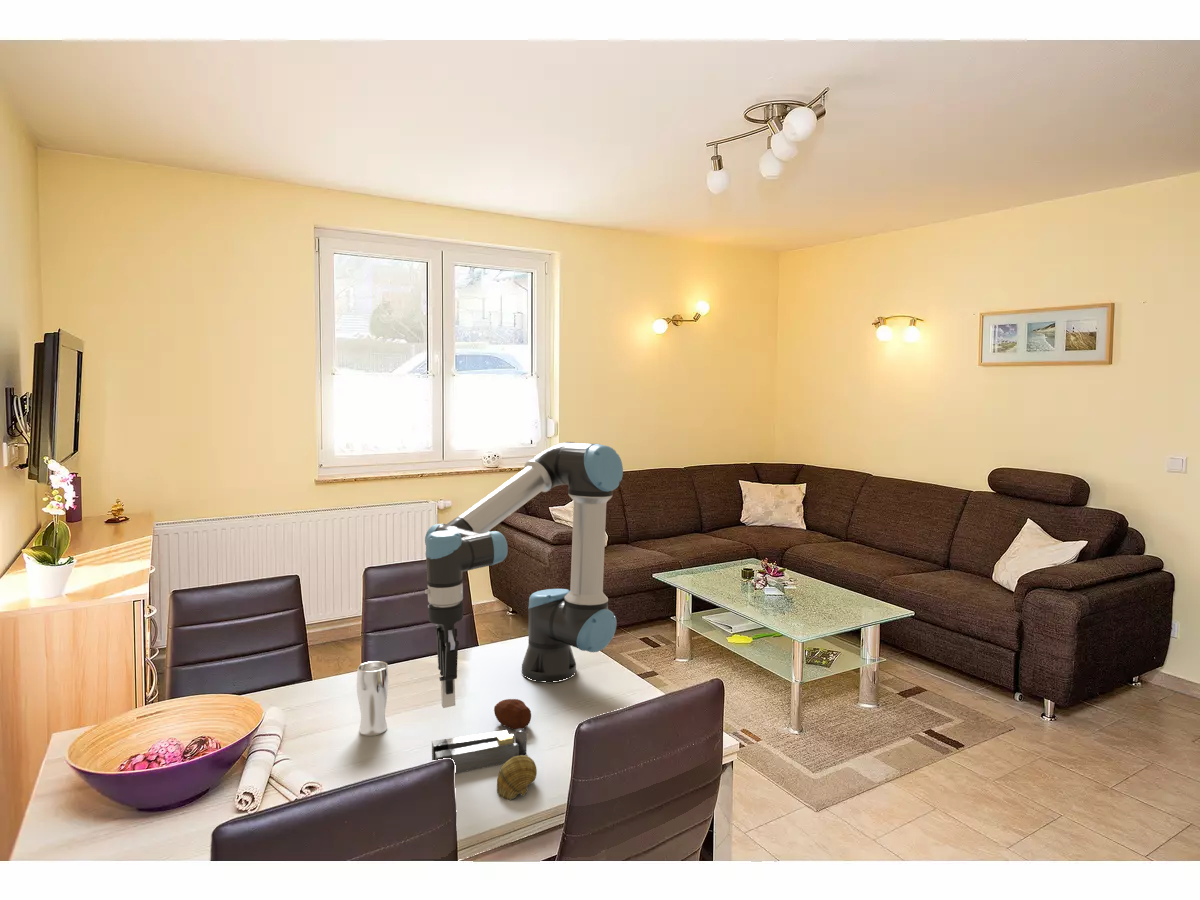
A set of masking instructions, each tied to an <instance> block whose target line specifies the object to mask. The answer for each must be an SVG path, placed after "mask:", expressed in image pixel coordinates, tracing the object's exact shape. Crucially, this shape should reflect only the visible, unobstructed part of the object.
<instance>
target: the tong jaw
mask: <svg viewBox="0 0 1200 900" xmlns="http://www.w3.org/2000/svg"><path fill="white" fill-rule="evenodd" d="M506 735H512V737H513V743H515V735H514V733H510V734H509V732H508V730H507V729H505V730H497V731H491V732H485V733H478V734H471V735H470V734H469V735H466V736H465V735H464V736H459V737H457V736H456V737H449V738H443V739H438V740H432V741H431V760H435V752H437V751H443V750H448V749H450V750H451V749H456V748H462V747H467V746H472V745H478V744H483V743H488V742H494V741H497V737H501V736H506Z"/></svg>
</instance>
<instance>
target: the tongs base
mask: <svg viewBox="0 0 1200 900" xmlns="http://www.w3.org/2000/svg"><path fill="white" fill-rule="evenodd" d="M527 735H528V733H527V729H526V728H524V729H523V728H520V729H517V730H515V735H514V743H513V737H512V735H506V736H501V737H497V741H494V742H488V743H483V744H478V745H472V746H467V747H462V748H456V749H451V750H450V749H448V750H443V751H437V752H435V760H438V759H443V758H451V759H453V760H454V762H455V765H456V773H455V774H458V773H459V774H460V773H465V772H469V771H474V770H480V769H483V768H484V769H485V768H489V767H493V766H499V765H504V764H505V763H506V762H507V761H508V760H509V759H511V758H512V757H515V756H520V755H524V756H527V747H528V746H527V743H528V742H527V738H528V737H527Z"/></svg>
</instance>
